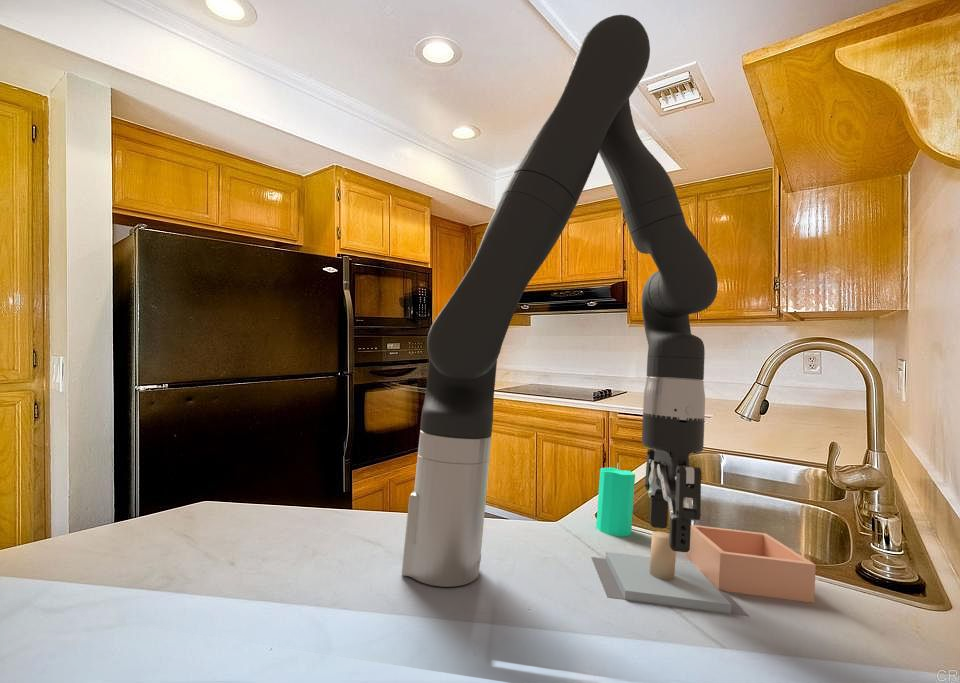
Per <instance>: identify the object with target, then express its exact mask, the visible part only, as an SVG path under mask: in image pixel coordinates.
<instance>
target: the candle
mask: <svg viewBox="0 0 960 683" xmlns="http://www.w3.org/2000/svg"><path fill="white" fill-rule="evenodd" d="M617 464H619V462H617ZM616 466H617V468H616V467H614V466H613V467H610V466H609V467H601V468H600V471H599V483H598V495H597V496H598V497H597V512H596V522H595V523H596V525H595V528H596V529H597V530H598V531H599V532H601V533H604V534H605V535H606V534H607V535H610V536H615V537H628V536H631V535H632V529H633V527H632V526H633V512H634V499H635V498H634V496H635V486H636V485H635V484H636V483H635V482H636V481H635V480H636V474H635V473H633V472H632V471H631V470H621V469H619V465H616Z"/></svg>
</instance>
